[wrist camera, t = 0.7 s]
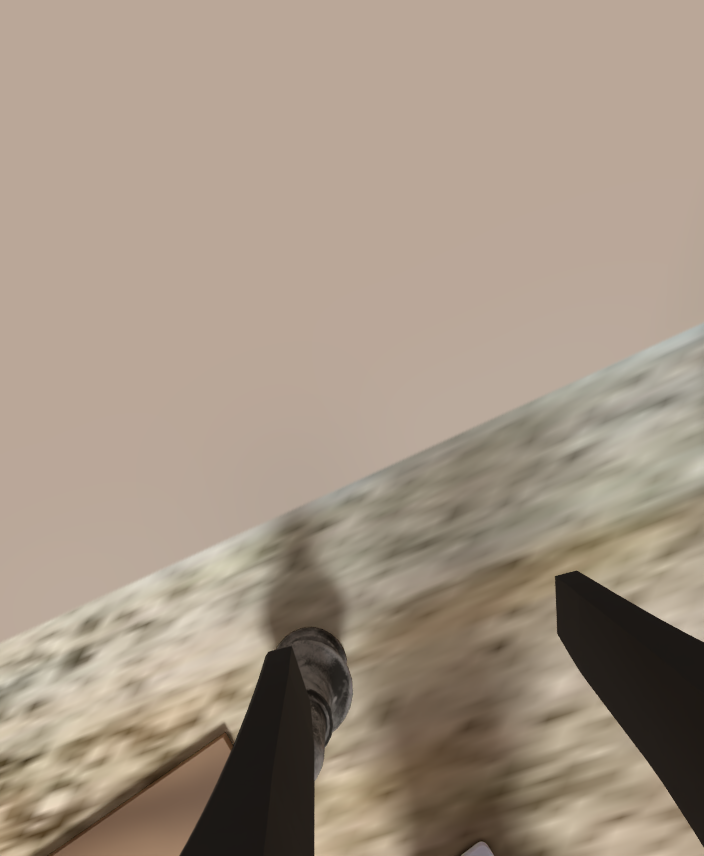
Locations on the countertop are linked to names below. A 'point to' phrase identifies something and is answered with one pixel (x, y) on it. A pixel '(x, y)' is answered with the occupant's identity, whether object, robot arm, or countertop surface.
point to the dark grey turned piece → (322, 683)
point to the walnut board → (156, 811)
